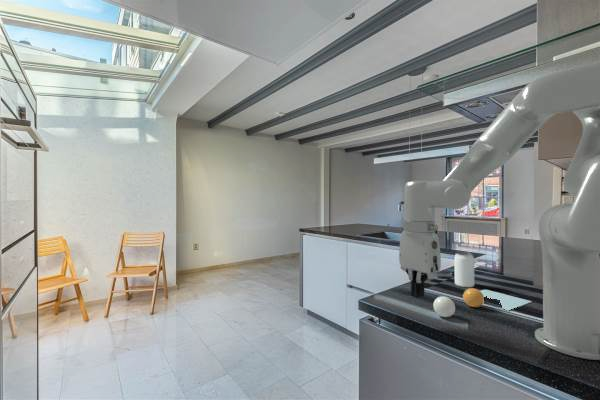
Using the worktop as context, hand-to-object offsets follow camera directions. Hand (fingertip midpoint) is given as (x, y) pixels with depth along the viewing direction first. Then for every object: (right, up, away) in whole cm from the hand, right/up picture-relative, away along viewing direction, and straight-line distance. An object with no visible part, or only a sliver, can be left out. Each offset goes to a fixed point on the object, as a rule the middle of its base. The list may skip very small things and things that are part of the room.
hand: (417, 296), depth 76 cm
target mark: (+32, -7, +17) cm, 37 cm away
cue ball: (+9, -4, +4) cm, 11 cm away
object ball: (+22, -4, +11) cm, 24 cm away
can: (+31, -7, +32) cm, 45 cm away
